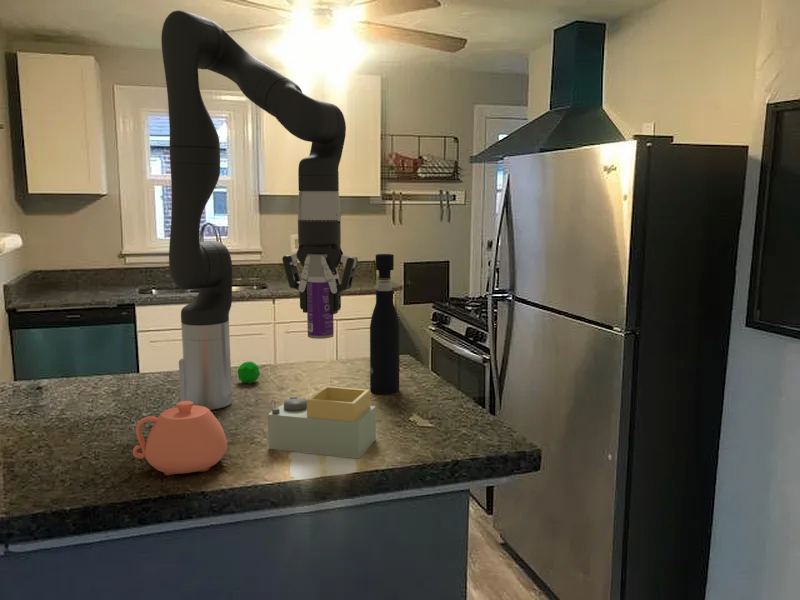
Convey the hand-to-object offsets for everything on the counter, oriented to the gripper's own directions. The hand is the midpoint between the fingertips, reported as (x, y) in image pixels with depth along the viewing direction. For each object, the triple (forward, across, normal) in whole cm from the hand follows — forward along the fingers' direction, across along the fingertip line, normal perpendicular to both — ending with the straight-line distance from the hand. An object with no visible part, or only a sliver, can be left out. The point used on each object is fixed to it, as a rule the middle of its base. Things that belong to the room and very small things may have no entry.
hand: (320, 312), depth 117 cm
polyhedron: (+22, -27, +23) cm, 42 cm away
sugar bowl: (+22, -14, -23) cm, 35 cm away
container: (+5, 0, 0) cm, 5 cm away
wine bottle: (+22, +5, +25) cm, 33 cm away
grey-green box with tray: (+21, +4, -9) cm, 23 cm away
